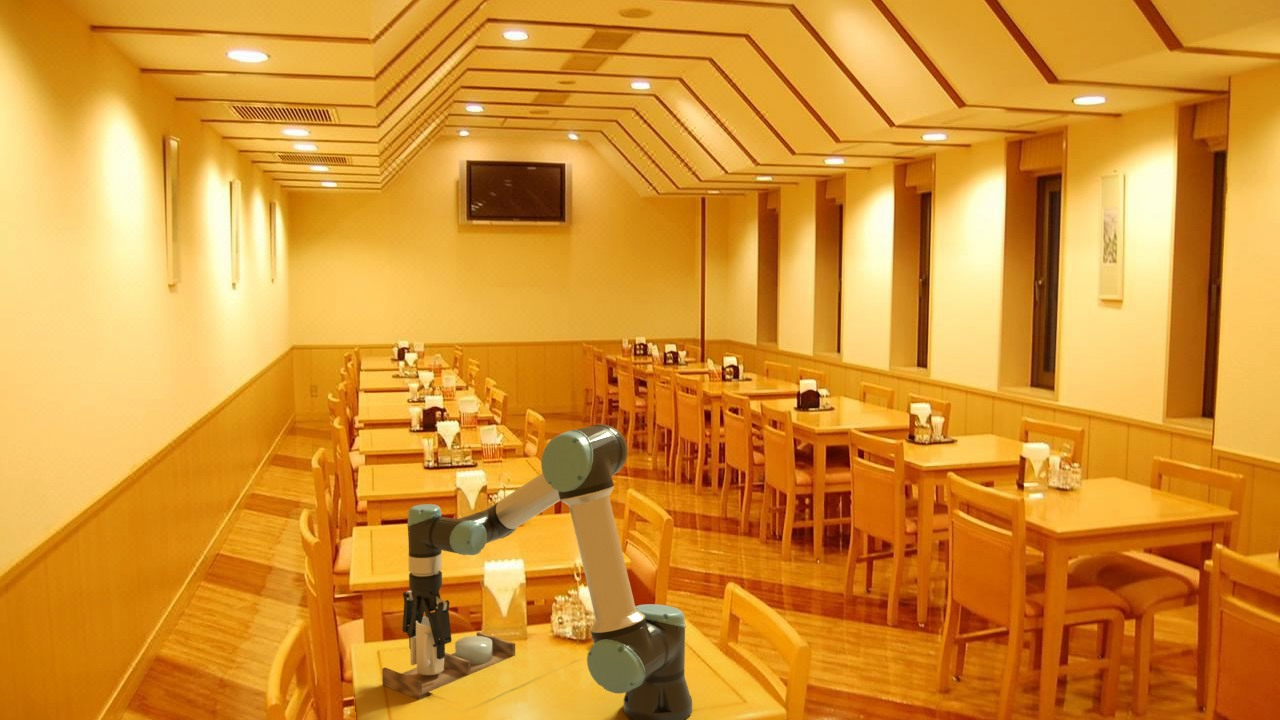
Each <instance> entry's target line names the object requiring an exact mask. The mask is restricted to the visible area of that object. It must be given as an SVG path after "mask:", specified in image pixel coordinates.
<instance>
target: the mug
mask: <svg viewBox="0 0 1280 720" xmlns="http://www.w3.org/2000/svg"><path fill="white" fill-rule="evenodd" d="M439 640H440V638H439ZM434 644H435V642H434V638H433V634H432V631H431V627H430V623H429V619H428V617H426V615H425V616H423V618H422V622H421V624H420V623H418V621H417V620H416V661H417V664H416V668H417V672H418V673H419V674H422V675H435V674H438V673H441V672H442V671H443V670H442V671H440V672H437V673H433V655H432V645H434Z"/></svg>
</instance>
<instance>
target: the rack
mask: <svg viewBox="0 0 1280 720" xmlns="http://www.w3.org/2000/svg"><path fill="white" fill-rule="evenodd" d="M476 636H482V637H487V638H490V639H491V640H492V660H491V661H489V662H487V663H485V664H481V665H472V666H471V661H468V660H465V659H462V658H459V657H456V656H455V652H454V653H453V652H452V653H448V652H445V657H444V670H443V671H442V672H441V673H438V674H435V675H422V674H419V673H418V672H417V667H414V668H413V669H410V670H407V671H405V672H402V673H401V672H398V671H396V670H393V669H390V668H388V667H383V668H381V669H382V675H381V677H382V686H383V687H386V688H389V689H391V690H394V691H396V692H399V693H402V694H403V695H407V696H409V697H411V698H414V699H417V700H419V701H420V700H422V699H425V698H427V697H429V696H431V695H433V693H432V692H431V691H434V690H436V689H439V688H441V687H443V686H446V685H449V684H450V683H453V682H456V681H458V680H461V679H463V678H465V677H468V676H470V675H473V674H474V673H477V672H479V671H481V670H485V669H486V668H489V667H491V666H494V665H496V664H499V663H501V662H503V661H506V660H507V659H511V658H513V657H516V643H515V642H512V641H508V640H506V639H502V638H500V637H496V636H493V635H489V634H487V633H483V632H481V631H478V632H477V631H476Z"/></svg>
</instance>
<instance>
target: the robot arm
mask: <svg viewBox="0 0 1280 720" xmlns="http://www.w3.org/2000/svg"><path fill="white" fill-rule="evenodd" d="M628 449H629V448H628V442H627V441H626V439H625V437H624V435H623V434H622V433H621V431H619V430H618V429H616V428H615V427H613V426H612V425H611V426H610V425H608V424H593V425H589V426H585V427H582V428H577V429H573V430H567V431H565V432H562V433H560V434H558V435H556V436H554V437H553V438H551V439H550V440H549V442H547V444H546V446H545V448H544V449H543V452H542V455H541V461H540V462H541V463H540V464H541V465H540V466H541V473H540V474H539V475H537V476H535V477H534V478H533V479H530V480H529V481H528V482H526V483H525V484H523V485H521V487H519V488H517V489H516V490H514V491H513V492H511V493H509V494H508V495H507V496H505V497H503V498H501V499H500V500H499V501H498V502H497V503H496V502H495V504H493V505H491V506H489V507H488V508H486V509H483V510H482V511H479V512H475V513H472V514H469V515H466V516H464V517H460V518H454V517H453V518H452V517H451V518H450V517H445V516H442V514H443V513H442V510H441V507H440V506H439V505H438V504H433V503H429V504H428V503H427V504H426V503H425V504H417V505H413V506H412V507H410V508H409V510H408V514H407V515H408V516H407V537H408V539H407V540H408V541H407V542H408V572H409V574H408V587H409V589H410V590H407V591H405V592H403V593H402V594H403V595H402V596H403V613H402V614H403V616H402V632H403V633H406V634H407V636H408V640H409V641H408V642H409V646H408V647H409V649H410V651H409V652H410V665H411V666H415V665H417V661H416V620H417V621H418V623H420V624H421V622H422V618H423V617H424V615H425V616H426V617H428V619H429V623H430V627H431V631H432V634H433V638H434V642H435V644H434V645H432V655H433V673H437V672H440V671H442V670H444V657H445V653H446V648H445V647H446V644H449V643H452V633H451V623H450V622H451V621H450V613H449V612H450V611H449V610H450V601H449V599H446V600H443V599H442V598H441V597H442V596H441V595H440V590H441V588H442V586H443V572H442V571H441V570H442V567H443V565H442V564H443V562H442V551H443V552H449V553H453V554H458V555H462V556H476V555H478V554H480V553H481V552H482V550H483V549H484V548H485V547H486V544H489V543H491V542H495V541H498V540H500V539H505V538H506V537H508V536H510V535H512V534H513V533H515V531H516V530H517V528H518V527H520V526H521V525H523V524H525V523H527V522H528V521H530V520H531V519H533V518H535V517H536V516H538V515H539V514H541V513H542V512H544V511H546V510H547V509H549V508H551V507H552V506H554V505H555V504H556V503H558V502H561V503H564V504H565V505H567V506H568V508H569V511H570V517H571V520H572V525H573V529H574V533H575V538H576V540H577V542H576V543H577V545H578V550H579V554H580V558H581V562H582V567H583V571H584V575H585V579H586V584H587V588H588V592H589V597H590V601H591V604H592V605H591V606H592V609H593V614H594V618H595V619H594V622H593V624H592V625H591V626H590V633H591V637H592V642H593V644H591V647H590V649H589V651H588V652H587V657H586V663H587V664H586V665H587V669H588V671H589V673H590V676H591V677H592V679H593V680H594V681H595V683H597V685H599V686H601V687H602V688H603V689H604V690H605V691H607V692H610V693H612V694H625V695H624V697H623V713H624V714H625V716H626V717H628V719H631V720H683V719H685V720H686V719H688V718H689V717H690V716H691V715H692V713H693V699H692V697H691V694H690V691H689V688H688V687H689V686H688V683H687V680H686V677H685V676H686V675H685V665H686V662H685V658H686V657H685V656H686V652H685V651H686V648H685V647H686V645H685V644H686V623H685V622H686V621H685V614H684V612H683V611H682V610H680V609H679V608H677V607H673V606H671V605H664V604H658V603H657V604H656V603H655V604H652V603H651V604H650V603H648V604H639V605H635V600H634V596H633V592H632V591H633V590H632V587H631V583H630V579H629V575H628V569H627V566H626V562H625V557H624V554H623V549H622V544H621V540H620V536H619V532H618V528H617V523H616V520H615V516H614V512H613V507H612V502H611V499H610V497H611V494H612V492H613V491H614V489H615V484H614V479H613V476H614V475H616V474H617V473H619V472H620V471H621V470H622V469H623V467H624V466H625V464H626V461H627V459H628V455H629V454H628V453H629V450H628ZM439 638H440V640H439ZM690 714H691V715H690ZM689 715H690V716H689ZM688 716H689V717H688ZM687 717H688V718H687Z"/></svg>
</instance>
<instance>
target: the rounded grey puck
mask: <svg viewBox="0 0 1280 720" xmlns="http://www.w3.org/2000/svg"><path fill="white" fill-rule="evenodd" d="M454 644H455V645H454V646H455V647H454V648H455V649H454V650H455V651H454V653H455V656H456V657H459V658H462V659H465V660H468V661H471V666H472V665H481V664H485V663H487V662H489V661H491V660H492V640H491V639H490V638H487V637H482V636H477V635H473V636H465V637H462V638H460V639H458V640H456V642H455V643H454Z"/></svg>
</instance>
